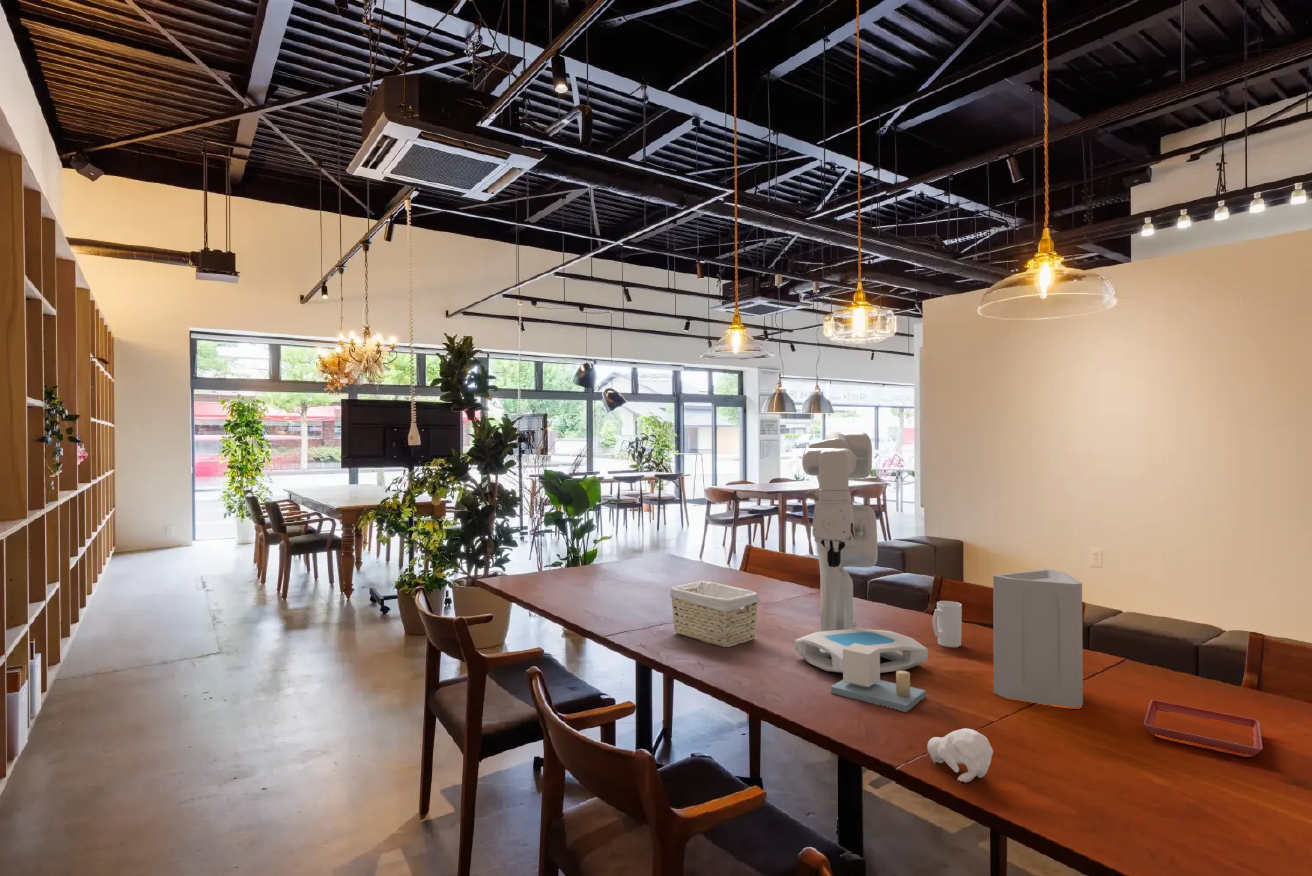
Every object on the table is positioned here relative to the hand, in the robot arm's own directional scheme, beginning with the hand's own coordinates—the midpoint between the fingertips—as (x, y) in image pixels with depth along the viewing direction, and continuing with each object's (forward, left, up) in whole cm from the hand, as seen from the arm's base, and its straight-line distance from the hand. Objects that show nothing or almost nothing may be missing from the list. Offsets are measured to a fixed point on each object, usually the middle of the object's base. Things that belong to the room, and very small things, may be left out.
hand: (834, 566), depth 180 cm
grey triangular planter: (-14, +47, -27) cm, 56 cm away
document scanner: (-9, +3, -27) cm, 28 cm away
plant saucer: (-11, +75, -28) cm, 81 cm away
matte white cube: (+10, +12, -25) cm, 29 cm away
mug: (-41, +15, -27) cm, 51 cm away
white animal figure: (+37, +42, -27) cm, 62 cm away
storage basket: (-4, -42, -28) cm, 50 cm away
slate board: (+10, +16, -27) cm, 33 cm away
